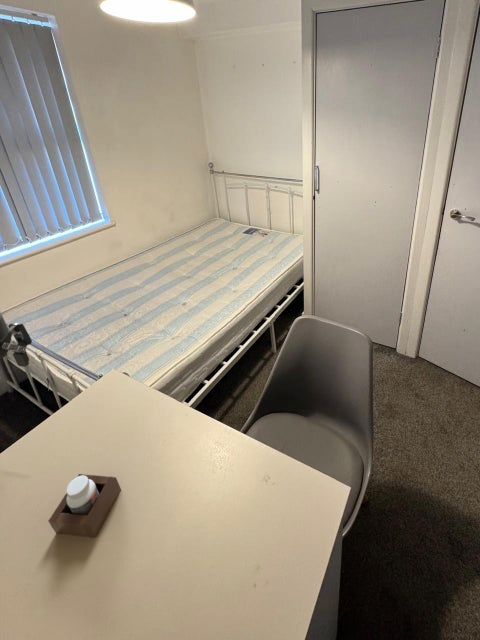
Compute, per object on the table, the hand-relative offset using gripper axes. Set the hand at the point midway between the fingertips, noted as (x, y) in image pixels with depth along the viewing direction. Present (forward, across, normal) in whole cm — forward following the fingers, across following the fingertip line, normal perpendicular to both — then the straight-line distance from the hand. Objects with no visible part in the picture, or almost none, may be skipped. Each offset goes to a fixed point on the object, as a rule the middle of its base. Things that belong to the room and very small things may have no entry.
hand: (7, 380), depth 70 cm
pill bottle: (+29, +9, +18) cm, 35 cm away
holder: (+29, +9, +18) cm, 35 cm away
